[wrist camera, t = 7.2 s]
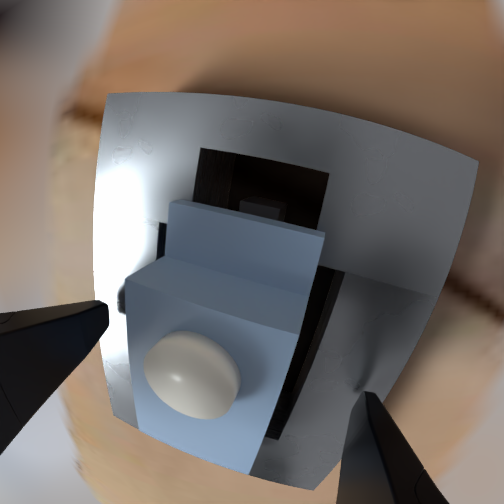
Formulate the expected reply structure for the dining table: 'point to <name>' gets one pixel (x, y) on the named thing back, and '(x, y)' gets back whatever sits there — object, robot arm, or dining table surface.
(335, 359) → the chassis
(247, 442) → the servo
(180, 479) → the dining table surface
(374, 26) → the dining table surface
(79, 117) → the dining table surface
